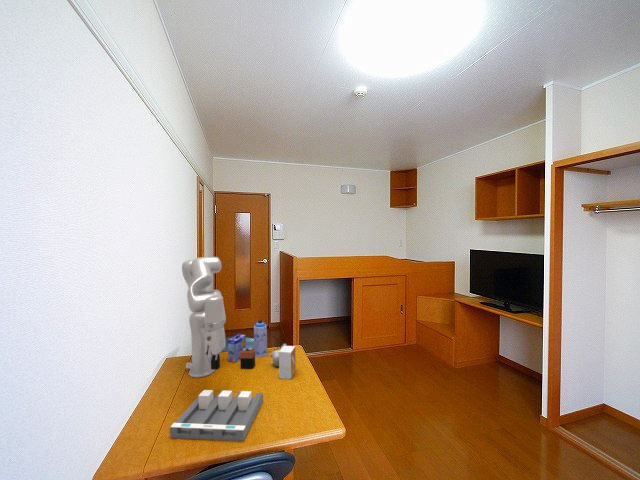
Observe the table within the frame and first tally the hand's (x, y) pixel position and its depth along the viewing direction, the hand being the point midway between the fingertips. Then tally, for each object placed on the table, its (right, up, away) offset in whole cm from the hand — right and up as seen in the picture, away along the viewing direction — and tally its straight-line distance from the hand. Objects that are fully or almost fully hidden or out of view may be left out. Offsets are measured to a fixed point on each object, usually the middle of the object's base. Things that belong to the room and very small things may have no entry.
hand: (215, 368), depth 113 cm
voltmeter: (+22, -13, +36) cm, 44 cm away
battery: (+6, -13, +28) cm, 32 cm away
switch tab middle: (+7, -11, -8) cm, 16 cm away
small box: (+29, -13, +19) cm, 37 cm away
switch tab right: (+15, -11, -9) cm, 21 cm away
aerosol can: (+10, -13, +44) cm, 47 cm away
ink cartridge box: (-3, -13, +39) cm, 41 cm away
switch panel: (+7, -13, -12) cm, 19 cm away
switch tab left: (-1, -11, -7) cm, 14 cm away
